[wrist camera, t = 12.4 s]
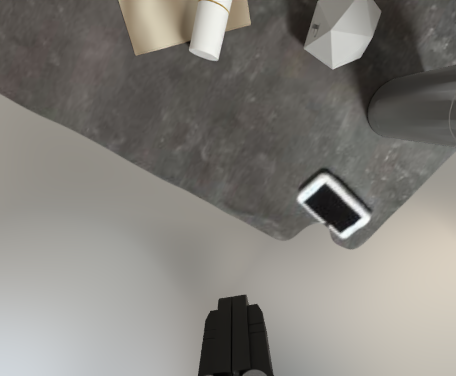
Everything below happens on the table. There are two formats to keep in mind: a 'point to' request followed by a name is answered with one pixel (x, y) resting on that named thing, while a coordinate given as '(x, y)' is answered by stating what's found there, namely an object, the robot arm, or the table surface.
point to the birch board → (170, 21)
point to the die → (341, 30)
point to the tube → (209, 28)
